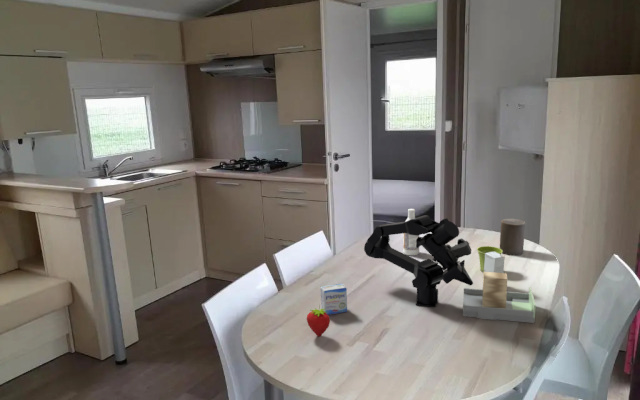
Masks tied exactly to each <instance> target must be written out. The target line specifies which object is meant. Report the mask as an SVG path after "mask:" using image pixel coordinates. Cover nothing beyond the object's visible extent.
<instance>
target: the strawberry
mask: <svg viewBox="0 0 640 400" xmlns="http://www.w3.org/2000/svg"><path fill="white" fill-rule="evenodd" d="M323 310H324V309H321V305H319V307H318V308H314V309H310V312H309V313H308V314H307V317H306V322H307V325H308V326H309V328H310V329H311V331H312V332H313V333H314V334H315V335H316V337H321V336H322V335H323V334H324V333H325V332H326V330H327V329H328V328H329V327H330V323H331V319H330V315H327V314H326V313H327V312H325V311H323Z"/></svg>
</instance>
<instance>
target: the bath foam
mask: <svg viewBox="0 0 640 400" xmlns="http://www.w3.org/2000/svg"><path fill="white" fill-rule="evenodd" d="M415 213H416V210H415V208H408V209H407V218H406V219H405V221H404V222H406V221H409V220H411V219H414V218H416V216H415V215H416V214H415ZM402 234H403V235H402V239H403V241H402V242H403V243H402V244H403V246H402V250H403V252H402V253H403V254H405V255H407V256H417V255H419V254H420V247H418V248H417V247H416V240H417V238H418V237H420V235H418V236H416V235H409V234H407V233H402Z"/></svg>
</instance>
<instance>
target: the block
mask: <svg viewBox="0 0 640 400" xmlns="http://www.w3.org/2000/svg"><path fill="white" fill-rule="evenodd" d="M482 273H483V275H482V278H483V279H482V290H483V297H482V303H483V307H493V308H504V309H506V297H507V292H508V291H507V290H508V275H507V272H503V273H495V272H482Z"/></svg>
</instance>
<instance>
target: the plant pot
mask: <svg viewBox="0 0 640 400" xmlns="http://www.w3.org/2000/svg"><path fill="white" fill-rule="evenodd" d="M476 251H477V253H478V257H479V258H478V259H479V266H480V267H479V269H480V271H481V272H482V273H483V272H484V262H485V253H488V252H496V253H498V254H500V255H502V254H503V253H502V252H503V251H502V250H501V249H500V247H495V246H492V245H491V246H490V245H486V246H485V245H484V246H483V245H482V246H479V247H477V248H476Z"/></svg>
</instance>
